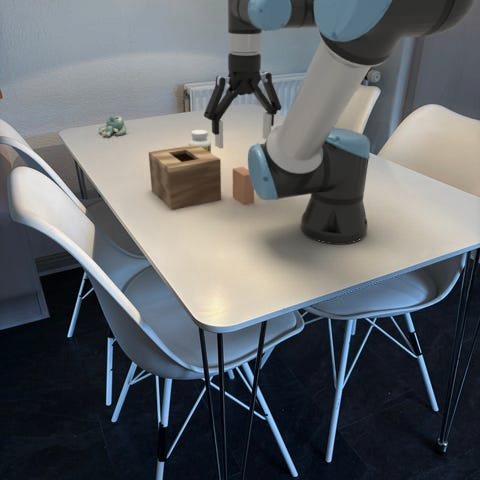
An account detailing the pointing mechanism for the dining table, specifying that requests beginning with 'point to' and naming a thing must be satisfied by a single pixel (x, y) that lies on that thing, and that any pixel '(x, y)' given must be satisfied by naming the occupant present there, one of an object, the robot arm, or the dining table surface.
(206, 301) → the dining table surface
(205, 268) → the dining table surface
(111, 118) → the stuffed animal
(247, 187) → the salmon orange block
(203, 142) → the pill bottle
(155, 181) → the coin box
